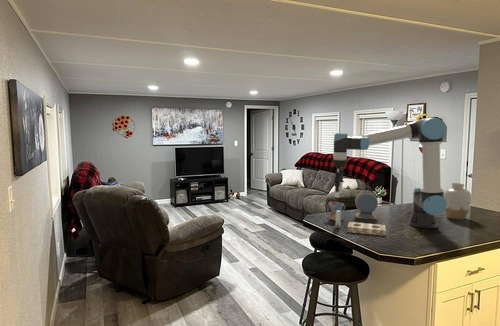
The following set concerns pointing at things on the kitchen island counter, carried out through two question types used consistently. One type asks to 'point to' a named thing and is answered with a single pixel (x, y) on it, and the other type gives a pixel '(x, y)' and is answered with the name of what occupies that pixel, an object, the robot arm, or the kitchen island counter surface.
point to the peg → (338, 219)
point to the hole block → (366, 228)
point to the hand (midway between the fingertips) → (338, 195)
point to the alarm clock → (366, 204)
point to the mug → (334, 207)
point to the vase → (457, 201)
